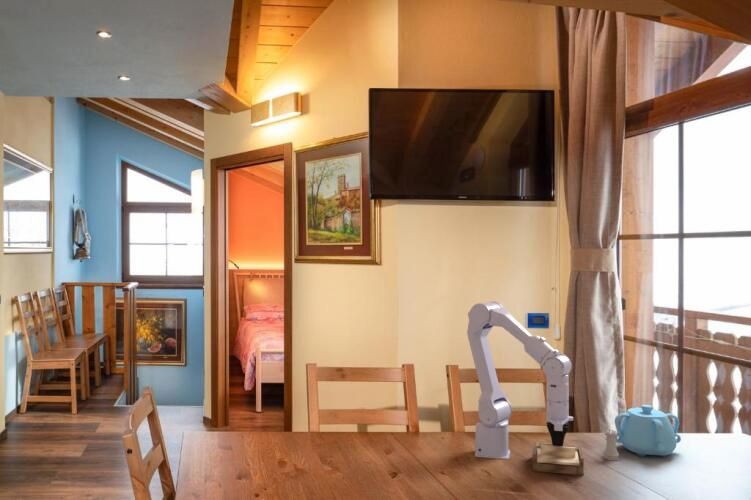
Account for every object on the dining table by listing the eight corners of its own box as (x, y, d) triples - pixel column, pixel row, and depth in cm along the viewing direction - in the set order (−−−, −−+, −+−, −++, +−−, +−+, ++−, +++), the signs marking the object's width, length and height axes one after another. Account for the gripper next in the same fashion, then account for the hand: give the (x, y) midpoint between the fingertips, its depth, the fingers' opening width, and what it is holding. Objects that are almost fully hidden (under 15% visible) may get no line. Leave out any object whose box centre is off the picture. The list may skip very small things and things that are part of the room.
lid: (537, 462, 163) (537, 450, 163) (537, 450, 172) (537, 439, 172) (579, 465, 160) (579, 453, 160) (577, 453, 169) (577, 442, 169)
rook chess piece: (620, 462, 174) (620, 433, 174) (604, 461, 174) (604, 432, 174) (617, 457, 178) (617, 429, 178) (601, 456, 179) (601, 428, 179)
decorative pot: (688, 453, 181) (688, 407, 181) (659, 464, 172) (659, 415, 172) (636, 440, 194) (636, 396, 194) (606, 449, 185) (606, 403, 185)
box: (532, 471, 166) (532, 454, 166) (532, 458, 176) (532, 442, 176) (583, 476, 162) (583, 458, 162) (580, 462, 173) (580, 445, 173)
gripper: (574, 407, 159) (574, 460, 159) (571, 394, 173) (571, 443, 173) (546, 405, 161) (546, 458, 161) (545, 393, 175) (545, 441, 175)
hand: (557, 450), depth 167 cm, fingers closed
